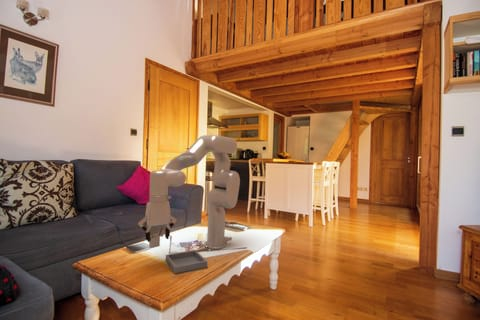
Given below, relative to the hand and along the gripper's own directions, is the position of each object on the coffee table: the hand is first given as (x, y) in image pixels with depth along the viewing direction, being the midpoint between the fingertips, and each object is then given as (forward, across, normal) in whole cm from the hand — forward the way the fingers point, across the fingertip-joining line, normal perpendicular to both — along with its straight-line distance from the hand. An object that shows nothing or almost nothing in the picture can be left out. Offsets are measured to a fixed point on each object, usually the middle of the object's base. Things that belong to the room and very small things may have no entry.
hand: (157, 239), depth 109 cm
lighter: (+3, 0, 0) cm, 3 cm away
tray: (+13, -12, +2) cm, 18 cm away
